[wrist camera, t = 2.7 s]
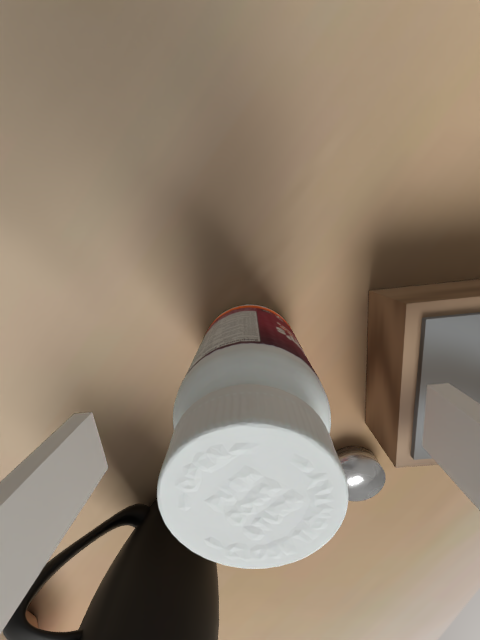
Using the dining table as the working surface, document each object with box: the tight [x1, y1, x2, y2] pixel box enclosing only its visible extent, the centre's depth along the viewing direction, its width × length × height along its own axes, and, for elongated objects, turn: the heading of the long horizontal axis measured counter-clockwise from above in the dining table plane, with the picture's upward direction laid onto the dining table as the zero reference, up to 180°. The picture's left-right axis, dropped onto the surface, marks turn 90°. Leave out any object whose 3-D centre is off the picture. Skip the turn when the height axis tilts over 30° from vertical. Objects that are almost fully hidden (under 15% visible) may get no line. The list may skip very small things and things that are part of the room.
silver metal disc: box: [336, 446, 385, 501], centre depth 20 cm, size 4×4×1 cm
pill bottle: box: [157, 305, 348, 569], centre depth 12 cm, size 6×6×11 cm
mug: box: [3, 500, 219, 640], centre depth 17 cm, size 8×12×10 cm
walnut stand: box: [365, 279, 480, 468], centre depth 15 cm, size 10×10×4 cm
